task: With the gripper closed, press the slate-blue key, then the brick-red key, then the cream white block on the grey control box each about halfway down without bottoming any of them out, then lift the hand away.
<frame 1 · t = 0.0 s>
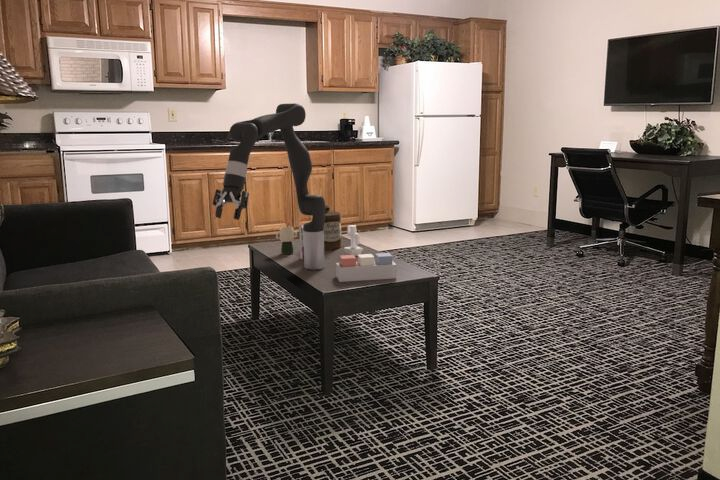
hand: (226, 218, 212), 31 cm above the table, tool tilted 20°, fingers open, 8 cm apart
candy bar box: (312, 258, 285), on the table
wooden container: (327, 247, 310), on the table
character mug: (287, 253, 296), on the table
figurine: (353, 255, 291), on the table
control box: (366, 277, 250), on the table
red key: (347, 262, 247), point 7 cm above the table, slide at 0.0 cm
cream white block: (365, 261, 249), point 7 cm above the table, slide at 0.0 cm
blue key: (383, 260, 250), point 7 cm above the table, slide at 0.0 cm
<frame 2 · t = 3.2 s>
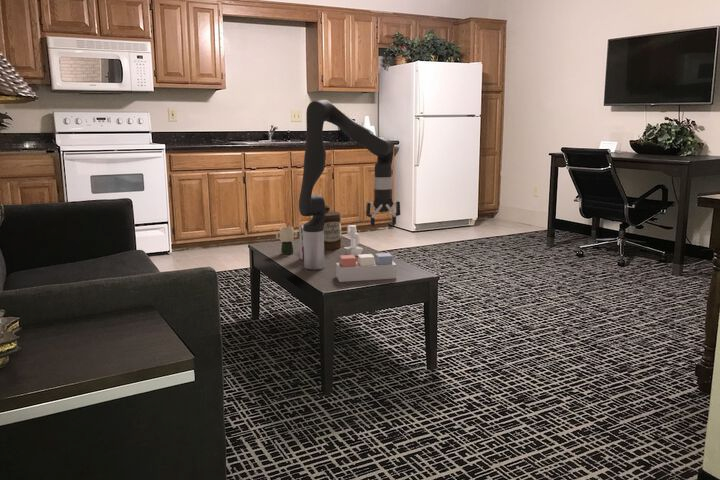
hand: (383, 226, 246), 22 cm above the table, tool pointing down, fingers open, 8 cm apart
nothing on the table moved.
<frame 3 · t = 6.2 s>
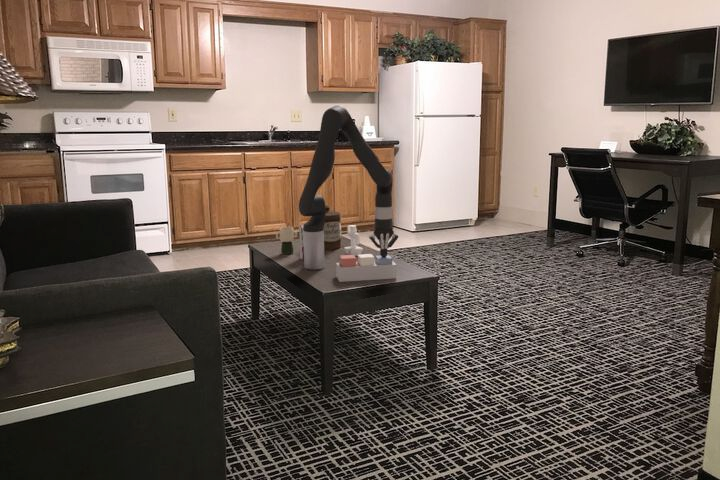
hand: (383, 257, 250), 9 cm above the table, tool pointing down, fingers closed
blue key: (383, 262, 250), point 6 cm above the table, slide at 1.0 cm, touching gripper
everything else where it was.
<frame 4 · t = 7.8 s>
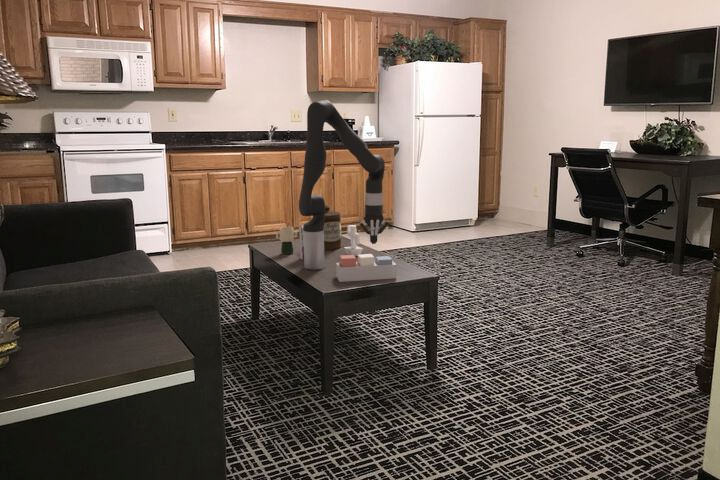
hand: (373, 243, 249), 14 cm above the table, tool pointing down, fingers closed
blue key: (383, 263, 250), point 6 cm above the table, slide at 1.4 cm
everything else where it was.
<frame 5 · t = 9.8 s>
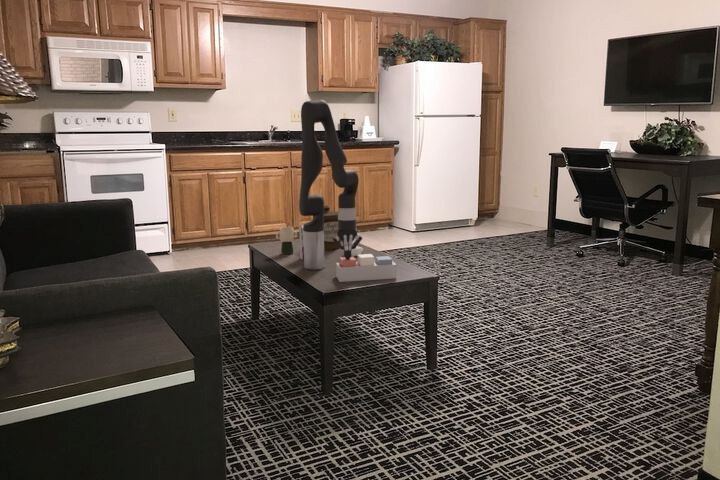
hand: (347, 258, 247), 9 cm above the table, tool pointing down, fingers closed
red key: (347, 264, 247), point 6 cm above the table, slide at 0.8 cm, touching gripper
everything else where it was.
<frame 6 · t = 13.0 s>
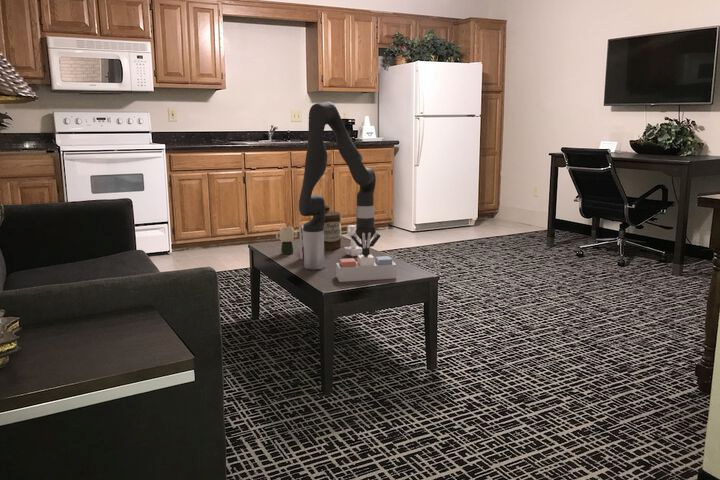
hand: (365, 256, 248), 9 cm above the table, tool pointing down, fingers closed
red key: (347, 265, 248), point 6 cm above the table, slide at 1.5 cm
cream white block: (365, 262, 249), point 7 cm above the table, slide at 0.2 cm, touching gripper
everything else where it was.
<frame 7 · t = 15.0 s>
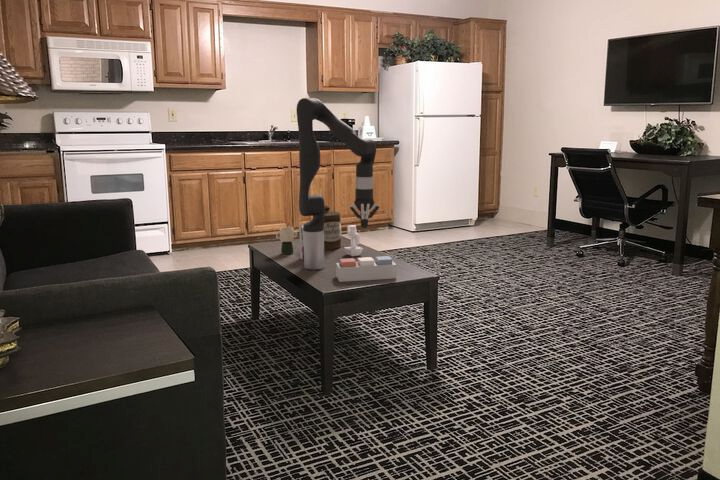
hand: (364, 227, 249), 21 cm above the table, tool pointing down, fingers closed
cream white block: (365, 264, 249), point 6 cm above the table, slide at 1.5 cm
everything else where it was.
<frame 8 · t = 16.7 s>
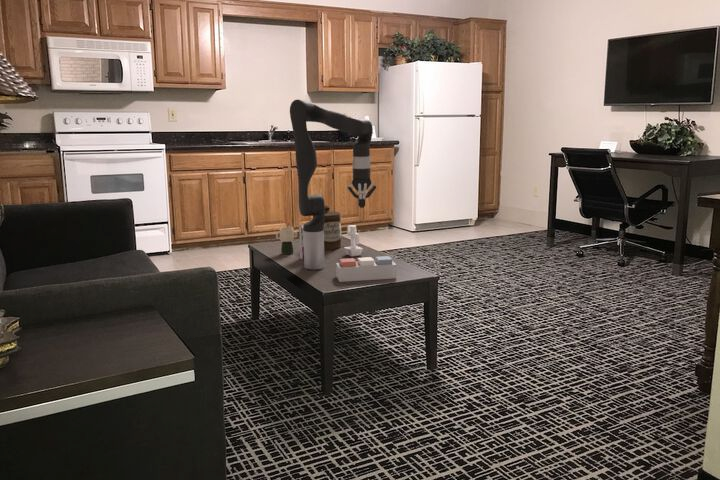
hand: (361, 207, 252), 29 cm above the table, tool pointing down, fingers closed
nothing on the table moved.
at the end: blue key slide at 1.4 cm; red key slide at 1.5 cm; cream white block slide at 1.5 cm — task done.
